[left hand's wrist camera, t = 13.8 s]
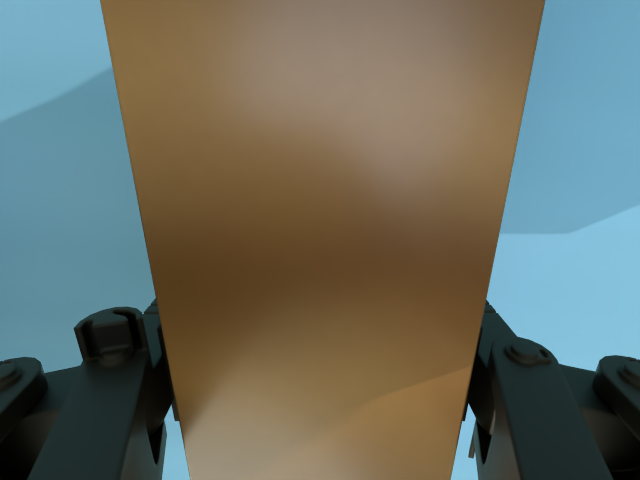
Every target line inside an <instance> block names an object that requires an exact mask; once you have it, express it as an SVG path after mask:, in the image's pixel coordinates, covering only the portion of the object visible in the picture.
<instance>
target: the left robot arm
mask: <svg viewBox="0 0 640 480" xmlns="http://www.w3.org/2000/svg"><path fill="white" fill-rule="evenodd" d="M74 331H75V334H76V338H77V341H78V345H79V348H80V351H81V355H82V358H83V362H82V364H81V366H77V367H73V368H68V369H63V370H58V371H53V372H48V373H44V371H43V368H42V365H41V362H40V361H38V360H37V359H35V358H30V357H21V358H14V359H8V360H4V361H3V362H2V361H1V362H0V480H162V472H163V464H164V455H165V446H166V438H167V432H166V426H165V421H164V418H165V416H166V414H167V412H168V410H169V408H170V406H171V404H172V409H173V414H174V419H175V421H179V417H178V411H177V406H176V401H175V395H174V390H173V385H172V380H171V374H170V369H169V364H168V358H167V353H166V348H165V342H164V337H163V332H162V326H161V321H160V316H159V311H158V305H157V300H156V299H155V300H154V301H153V302H152V303H151V306H149V307H148V308H147V309H146V311H145V312H144V314H142V312H140V311H139V310H138V309H136V308H131V307H115V308H110V309H106V310H102V311H99V312H97V313H94V314H92V315H90V316H88V317H86V318H85V319H83V320H81V321H80V322H79V323H78V324H77V325H76V326H75V327H74ZM468 403H469V405H470V407H471V409H472V411H473V413H474V415H475V417H476V421H475V426H474V431H473V435H472V440H471V445H470V450H469V456H468V457H469V458H474V453H475V454H476V463H477V471H478V480H640V360H639V359H638V360H637V359H635V358H631V357H624V356H617V355H613V356H605V357H604V358H602V359H601V360H600V361H599V364H598V366H597V369H596V372H595V371H590V370H585V369H580V368H575V367H570V366H565V365H561V364H559V363H558V361H557V359H556V358H555V357H554V355H553V354H552V353H551V352H550V351H549V350H547V349H546V348H545V347H543V346H542V345H540V344H538V343H535V342H533V341H531V340H528V339H524V338H520V337H517V336H516V335H515V334H514V332H513V331H512V330H511V329H510V328H509V326H508V325H507V324H506V323H505V322H504V320H503V319H502V318H501V317H500V316H499V314H498V313H496V311H495V309H494V308H493V307H492V306H491V305H489V302H488V301H487V300H486V303H485V308H484V313H483V318H482V323H481V328H480V333H479V338H478V343H477V348H476V353H475V358H474V363H473V368H472V373H471V378H470V383H469V389H468V394H467V399H466V404H465V409H464V414H463V419H462V421H465V418H466V413H467V407H468Z"/></svg>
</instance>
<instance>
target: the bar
mask: <svg viewBox="0 0 640 480" xmlns="http://www.w3.org/2000/svg"><path fill="white" fill-rule="evenodd" d="M100 3H101V8H102V13H103V19H104V24H105V29H106V34H107V40H108V45H109V50H110V56H111V61H112V66H113V72H114V77H115V82H116V88H117V93H118V98H119V103H120V109H121V114H122V119H123V125H124V130H125V135H126V141H127V146H128V151H129V157H130V162H131V167H132V172H133V178H134V183H135V188H136V194H137V199H138V204H139V210H140V215H141V220H142V226H143V231H144V236H145V242H146V247H147V252H148V257H149V263H150V268H151V273H152V279H153V284H154V289H155V295H156V300H157V305H158V311H159V316H160V321H161V326H162V332H163V337H164V342H165V348H166V353H167V358H168V364H169V369H170V374H171V380H172V385H173V390H174V395H175V401H176V406H177V411H178V417H179V422H180V427H181V433H182V438H183V443H184V449H185V454H186V459H187V464H188V470H189V475H190V480H450V479H451V474H452V469H453V464H454V459H455V454H456V449H457V444H458V439H459V434H460V429H461V424H462V419H463V414H464V409H465V404H466V399H467V394H468V389H469V383H470V378H471V373H472V368H473V363H474V358H475V353H476V348H477V343H478V338H479V333H480V328H481V323H482V318H483V313H484V308H485V303H486V298H487V292H488V287H489V282H490V277H491V272H492V267H493V262H494V257H495V252H496V247H497V242H498V237H499V232H500V227H501V222H502V217H503V212H504V207H505V201H506V196H507V191H508V186H509V181H510V176H511V171H512V166H513V161H514V156H515V151H516V146H517V141H518V136H519V131H520V126H521V121H522V116H523V110H524V105H525V100H526V95H527V90H528V85H529V80H530V75H531V70H532V65H533V60H534V55H535V50H536V45H537V40H538V35H539V30H540V25H541V20H542V14H543V9H544V4H545V0H100Z"/></svg>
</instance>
